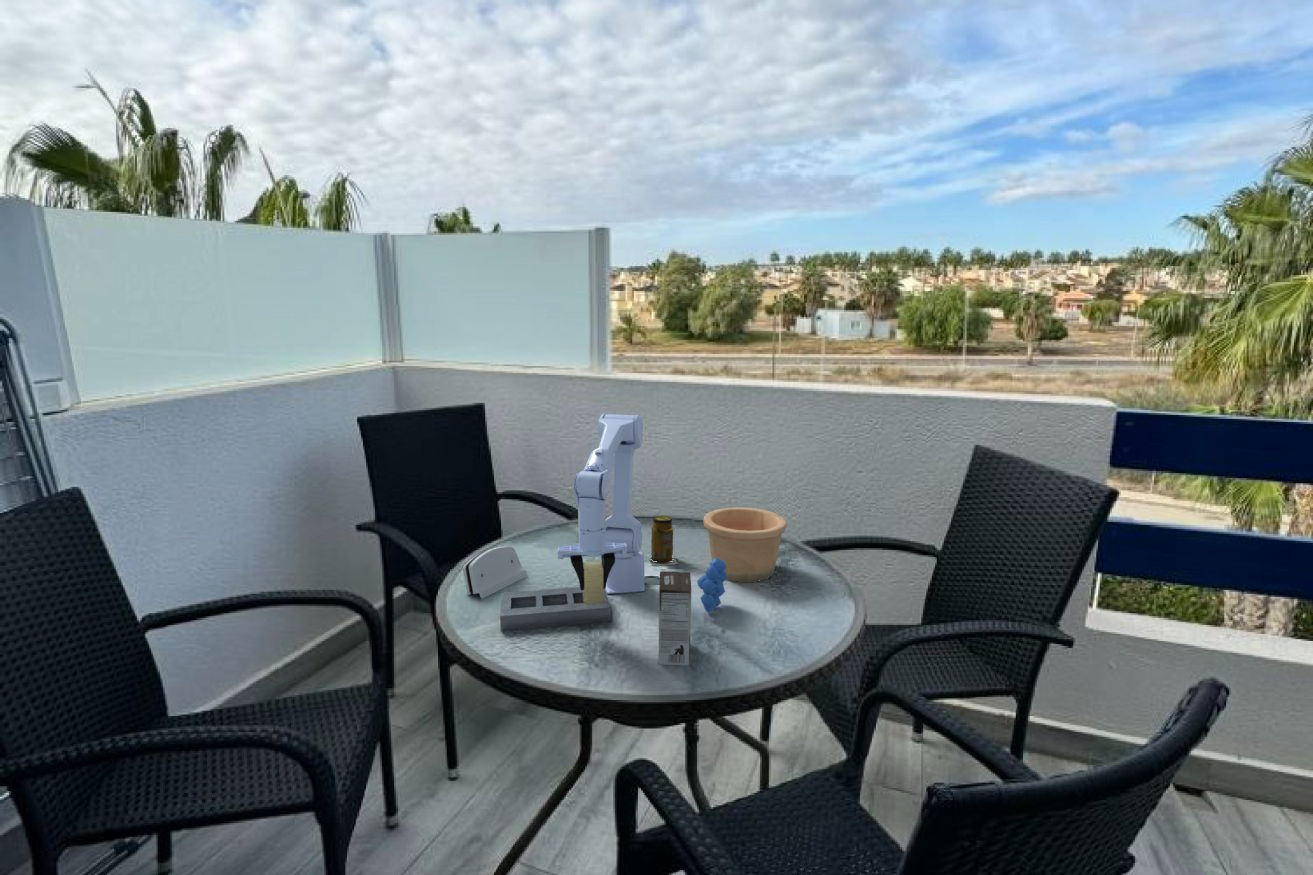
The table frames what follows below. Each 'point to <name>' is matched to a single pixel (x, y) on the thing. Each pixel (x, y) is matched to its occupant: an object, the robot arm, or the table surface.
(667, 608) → the coffee box
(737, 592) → the table surface
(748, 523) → the pottery
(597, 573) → the brass block
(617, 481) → the robot arm
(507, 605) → the grey block holder
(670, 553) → the condiment
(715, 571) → the grapes
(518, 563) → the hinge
